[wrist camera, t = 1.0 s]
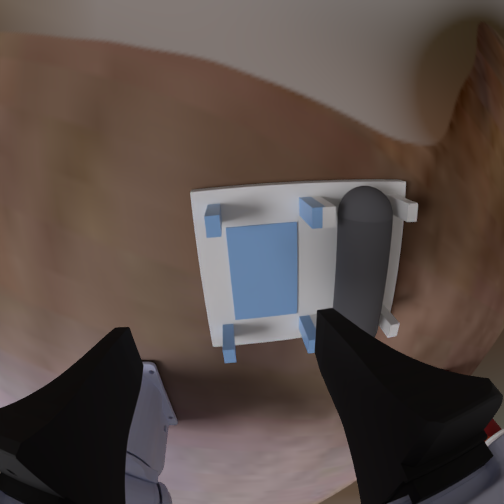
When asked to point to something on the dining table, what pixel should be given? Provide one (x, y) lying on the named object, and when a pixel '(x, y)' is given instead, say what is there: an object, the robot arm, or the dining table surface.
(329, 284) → the board
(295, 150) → the dining table surface
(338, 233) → the dark grey capsule
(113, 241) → the dining table surface
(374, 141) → the dining table surface
